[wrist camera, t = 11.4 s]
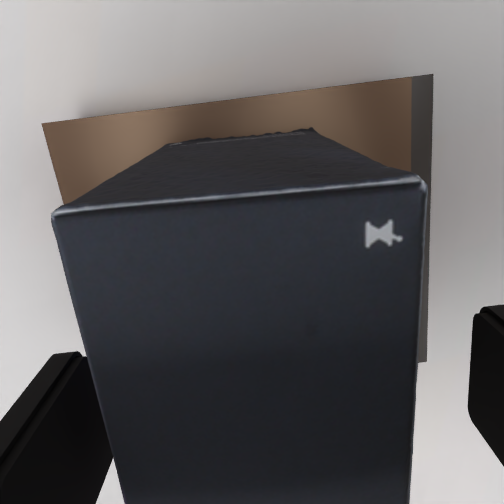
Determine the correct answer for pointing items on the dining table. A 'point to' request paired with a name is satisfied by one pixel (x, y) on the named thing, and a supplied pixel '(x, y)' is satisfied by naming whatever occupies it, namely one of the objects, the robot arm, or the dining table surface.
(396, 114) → the dock
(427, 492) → the dining table surface
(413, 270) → the small box
